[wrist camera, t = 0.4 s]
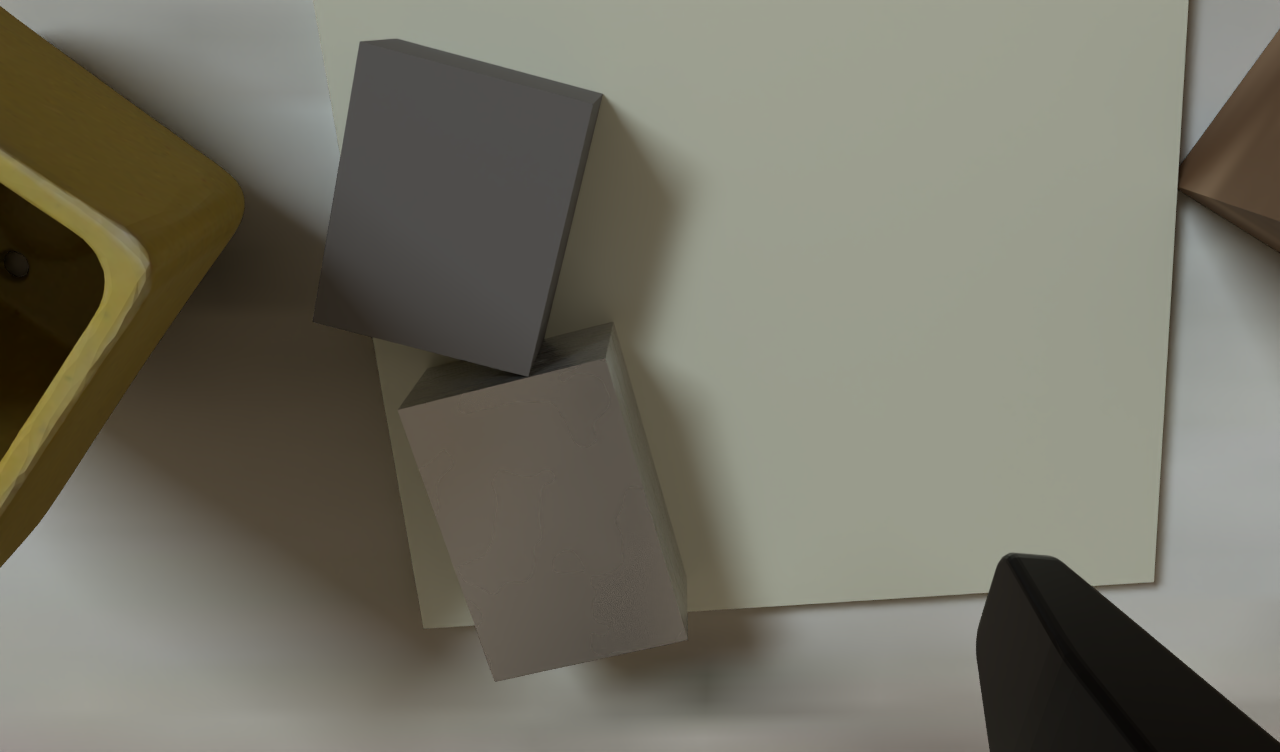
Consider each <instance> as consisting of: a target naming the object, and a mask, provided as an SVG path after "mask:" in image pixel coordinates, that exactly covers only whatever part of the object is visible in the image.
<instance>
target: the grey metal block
mask: <svg viewBox="0 0 1280 752" xmlns="http://www.w3.org/2000/svg"><path fill="white" fill-rule="evenodd" d="M398 413H399V416H400V419H401V421H402V424H403V427H404V430H405V433H406V435H407V438H408V441H409V444H410V447H411V449H412V452H413V455H414V458H415V460H416V463H417V466H418V469H419V472H420V474H421V477H422V480H423V483H424V486H425V488H426V491H427V494H428V497H429V500H430V502H431V505H432V508H433V511H434V513H435V516H436V519H437V522H438V525H439V527H440V530H441V533H442V536H443V539H444V541H445V544H446V547H447V550H448V553H449V555H450V558H451V561H452V564H453V566H454V569H455V572H456V575H457V578H458V580H459V583H460V586H461V589H462V592H463V594H464V597H465V600H466V603H467V606H468V608H469V611H470V614H471V617H472V619H473V622H474V625H475V628H476V631H477V633H478V636H479V639H480V642H481V645H482V647H483V650H484V653H485V656H486V659H487V661H488V664H489V667H490V670H491V672H492V675H493V678H494V681H495V682H496V681H501V680H505V679H510V678H515V677H519V676H524V675H529V674H533V673H538V672H542V671H547V670H552V669H556V668H561V667H565V666H570V665H575V664H579V663H584V662H588V661H593V660H598V659H602V658H607V657H611V656H616V655H621V654H625V653H630V652H635V651H639V650H644V649H648V648H653V647H658V646H662V645H667V644H671V643H676V642H681V641H685V640H688V614H687V576H686V573H685V569H684V566H683V562H682V559H681V555H680V552H679V548H678V545H677V541H676V538H675V534H674V531H673V527H672V524H671V520H670V517H669V513H668V510H667V506H666V503H665V499H664V496H663V493H662V489H661V486H660V482H659V479H658V475H657V472H656V468H655V465H654V461H653V458H652V454H651V451H650V447H649V444H648V440H647V437H646V433H645V430H644V426H643V423H642V419H641V416H640V412H639V409H638V405H637V402H636V398H635V395H634V391H633V388H632V385H631V381H630V378H629V374H628V371H627V367H626V364H625V360H624V357H623V353H622V350H621V346H620V343H619V339H618V336H617V332H616V329H615V325H614V322H609V323H605V324H601V325H597V326H593V327H589V328H585V329H581V330H577V331H573V332H570V333H566V334H562V335H558V336H554V337H550V338H546V339H544V340H543V343H542V345H541V348H540V350H539V352H538V355H537V357H536V360H535V362H534V364H533V367H532V369H531V372H530V374H529V376H528V377H527V376H523V375H519V374H515V373H511V372H507V371H503V370H499V369H495V368H492V367H488V366H484V365H480V364H476V363H472V362H468V361H464V360H459V361H455V362H451V363H447V364H443V365H439V366H435V367H431V368H427V369H426V371H425V372H424V374H423V375H422V376H421V378H420V379H419V381H418V382H417V383H416V385H415V386H414V388H413V389H412V390H411V392H410V393H409V395H408V396H407V397H406V399H405V400H404V402H403V403H402V404H401V406H400V407H399V409H398Z"/></svg>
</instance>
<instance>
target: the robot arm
mask: <svg viewBox="0 0 1280 752" xmlns="http://www.w3.org/2000/svg"><path fill="white" fill-rule="evenodd" d="M976 656H977V665H978V672H979V679H980V686H981V693H982V700H983V707H984V714H985V721H986V728H987V735H988V743H989V750H990V752H1280V743H1279V742H1278V741H1277V740H1276V739H1275V738H1273V737H1272V736H1271V735H1270V734H1269V733H1267V732H1266V731H1265V730H1264V729H1263V728H1261V727H1260V726H1259V725H1258V724H1257V723H1255V722H1254V721H1253V720H1252V719H1251V718H1249V717H1248V716H1247V715H1246V714H1245V713H1243V712H1242V711H1241V710H1240V709H1239V708H1237V707H1236V706H1235V705H1234V704H1233V703H1231V702H1230V701H1229V700H1228V699H1227V698H1225V697H1224V696H1223V695H1222V694H1221V693H1219V692H1218V691H1217V690H1216V689H1215V688H1213V687H1212V686H1211V685H1210V684H1209V683H1207V682H1206V681H1205V680H1204V679H1203V678H1201V677H1200V676H1199V675H1198V674H1197V673H1195V672H1194V671H1193V670H1192V669H1191V668H1189V667H1188V666H1187V665H1186V664H1185V663H1183V662H1182V661H1181V660H1180V659H1179V658H1177V657H1176V656H1175V655H1174V654H1173V653H1171V652H1170V651H1169V650H1168V649H1167V648H1165V647H1164V646H1163V645H1162V644H1161V643H1159V642H1158V641H1157V640H1156V639H1155V638H1153V637H1152V636H1151V635H1150V634H1149V633H1147V632H1146V631H1145V630H1144V629H1143V628H1141V627H1140V626H1139V625H1138V624H1137V623H1135V622H1134V621H1133V620H1132V619H1131V618H1129V617H1128V616H1127V615H1126V614H1125V613H1123V612H1122V611H1121V610H1120V609H1119V608H1117V607H1116V606H1115V605H1114V604H1113V603H1111V602H1110V601H1109V600H1108V599H1107V598H1105V597H1104V596H1103V595H1102V594H1101V593H1099V592H1098V591H1097V590H1096V589H1095V588H1093V587H1092V586H1091V585H1090V584H1089V583H1087V582H1086V581H1085V580H1084V579H1083V578H1081V577H1080V576H1079V575H1078V574H1077V573H1075V572H1074V571H1073V570H1072V569H1071V568H1069V567H1068V566H1067V565H1066V564H1065V563H1063V562H1062V561H1061V560H1059V559H1058V558H1056V557H1053V556H1048V555H1037V554H1025V553H1013V552H1012V553H1008V554H1006V555H1004V556H1003V557H1002V558H1001V559H1000V561H999V563H998V564H997V567H996V569H995V573H994V576H993V579H992V583H991V586H990V589H989V593H988V596H987V599H986V603H985V606H984V609H983V613H982V616H981V619H980V623H979V626H978V631H977V638H976Z"/></svg>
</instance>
